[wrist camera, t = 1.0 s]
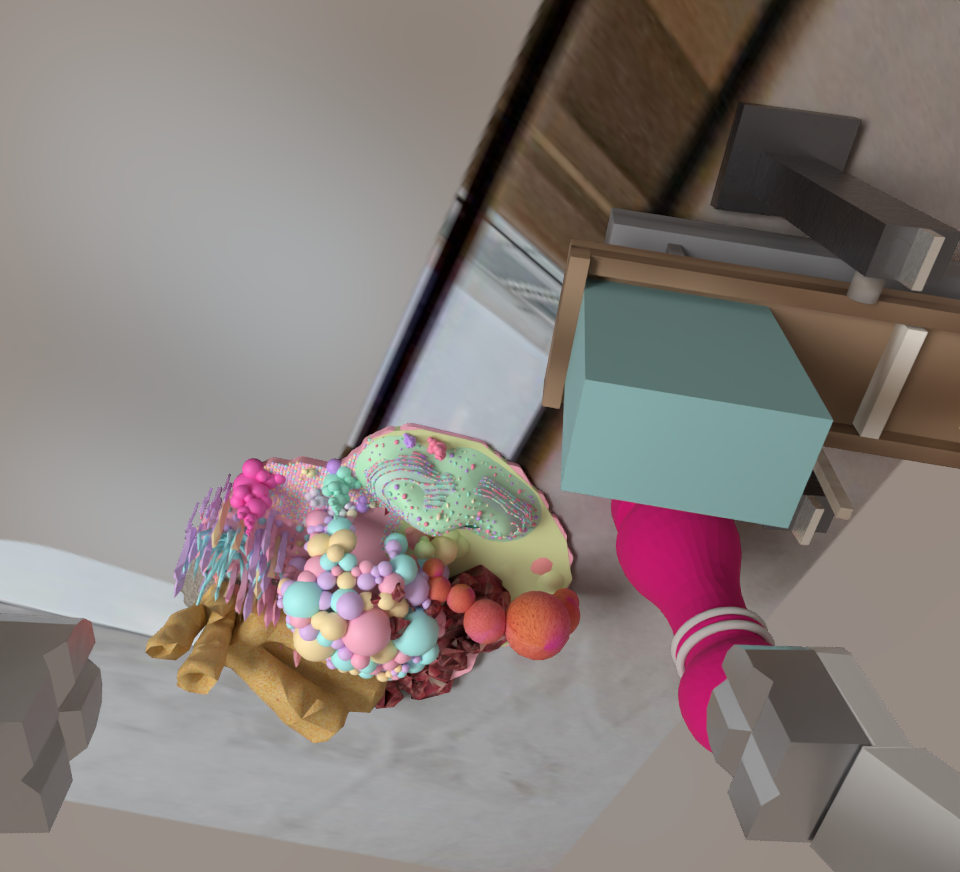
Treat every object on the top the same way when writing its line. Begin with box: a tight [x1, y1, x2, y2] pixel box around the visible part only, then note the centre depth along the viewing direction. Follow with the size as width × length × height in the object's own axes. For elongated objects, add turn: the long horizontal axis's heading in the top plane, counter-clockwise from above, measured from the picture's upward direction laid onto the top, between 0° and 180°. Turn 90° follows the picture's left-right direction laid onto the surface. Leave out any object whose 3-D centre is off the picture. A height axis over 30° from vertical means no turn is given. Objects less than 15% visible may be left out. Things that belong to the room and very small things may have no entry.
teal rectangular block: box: [561, 278, 833, 529], centre depth 30 cm, size 4×8×10 cm, turn 83°
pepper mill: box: [611, 499, 775, 752], centre depth 42 cm, size 7×7×20 cm
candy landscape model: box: [146, 423, 580, 743], centre depth 48 cm, size 25×24×9 cm
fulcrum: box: [710, 102, 960, 545], centre depth 37 cm, size 18×6×14 cm, turn 173°
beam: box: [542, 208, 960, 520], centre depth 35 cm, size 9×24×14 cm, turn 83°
